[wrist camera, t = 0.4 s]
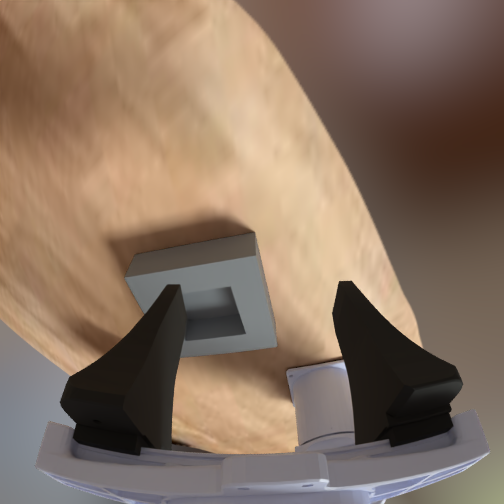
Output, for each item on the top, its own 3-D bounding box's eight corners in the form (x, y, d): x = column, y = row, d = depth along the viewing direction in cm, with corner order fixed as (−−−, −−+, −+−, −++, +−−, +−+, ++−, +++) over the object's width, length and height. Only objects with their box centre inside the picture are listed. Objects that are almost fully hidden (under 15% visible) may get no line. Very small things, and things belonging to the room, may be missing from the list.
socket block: (275, 322, 29) (277, 346, 27) (175, 334, 30) (171, 358, 28) (255, 232, 24) (256, 255, 21) (134, 254, 25) (124, 277, 22)
